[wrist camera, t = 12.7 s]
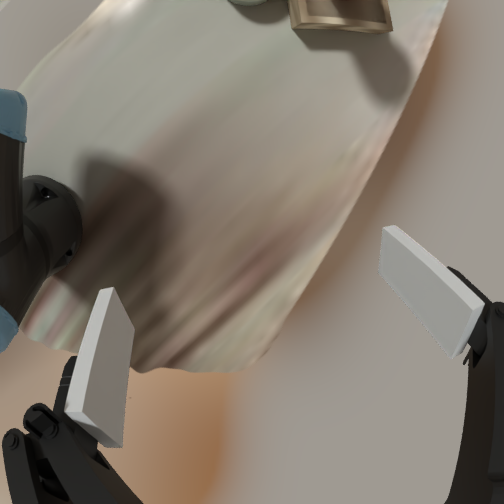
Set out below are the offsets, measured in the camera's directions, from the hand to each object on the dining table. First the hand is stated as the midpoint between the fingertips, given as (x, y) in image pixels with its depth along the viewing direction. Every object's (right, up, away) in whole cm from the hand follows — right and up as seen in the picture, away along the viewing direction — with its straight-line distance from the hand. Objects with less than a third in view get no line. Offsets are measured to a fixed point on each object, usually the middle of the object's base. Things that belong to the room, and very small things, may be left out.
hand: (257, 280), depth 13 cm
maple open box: (+11, +38, +14) cm, 42 cm away
